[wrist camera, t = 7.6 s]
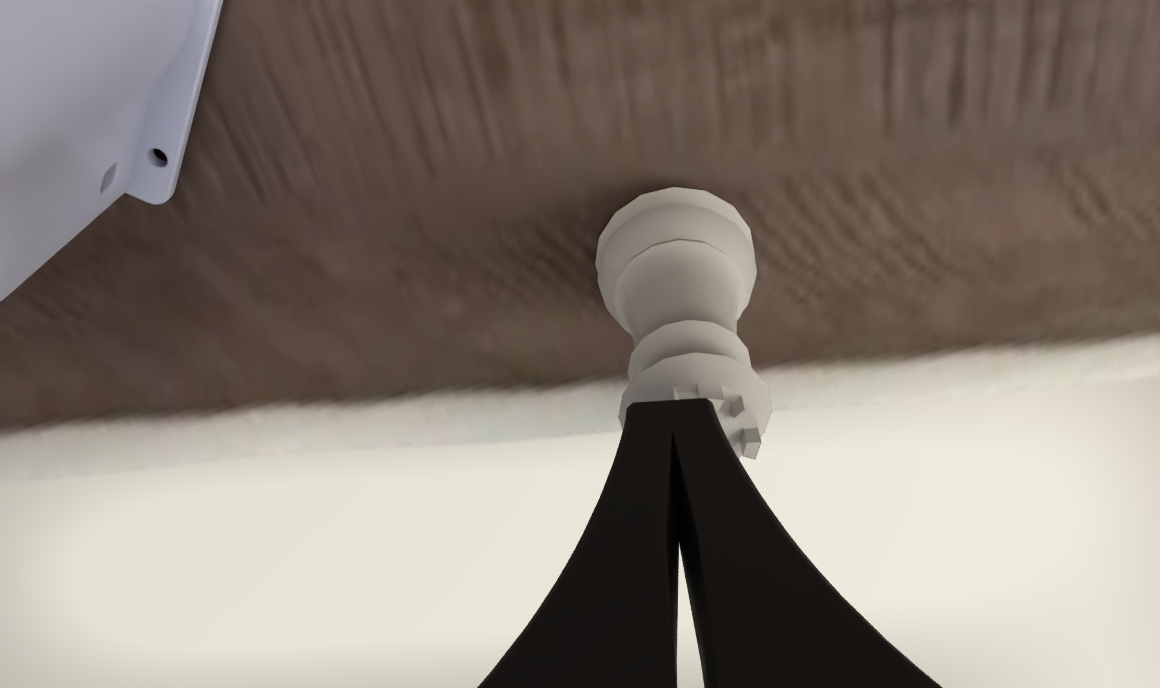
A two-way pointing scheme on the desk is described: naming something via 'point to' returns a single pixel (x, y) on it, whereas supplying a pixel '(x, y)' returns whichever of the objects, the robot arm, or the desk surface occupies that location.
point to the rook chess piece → (685, 306)
